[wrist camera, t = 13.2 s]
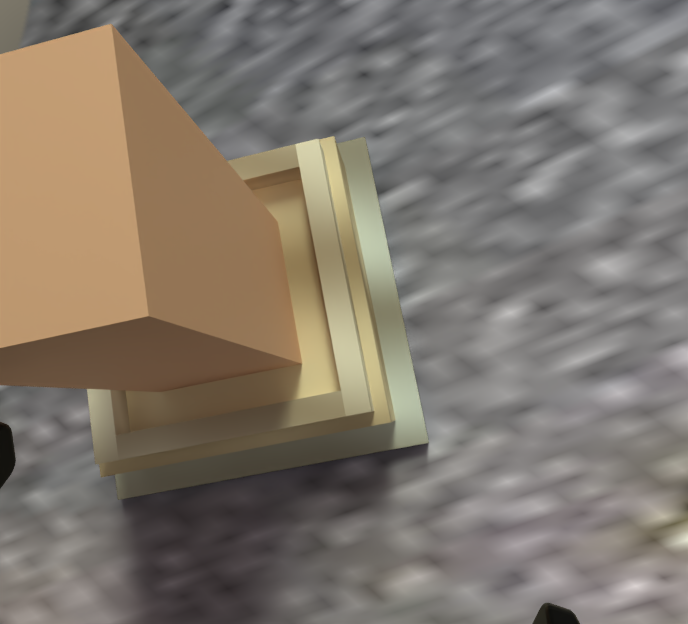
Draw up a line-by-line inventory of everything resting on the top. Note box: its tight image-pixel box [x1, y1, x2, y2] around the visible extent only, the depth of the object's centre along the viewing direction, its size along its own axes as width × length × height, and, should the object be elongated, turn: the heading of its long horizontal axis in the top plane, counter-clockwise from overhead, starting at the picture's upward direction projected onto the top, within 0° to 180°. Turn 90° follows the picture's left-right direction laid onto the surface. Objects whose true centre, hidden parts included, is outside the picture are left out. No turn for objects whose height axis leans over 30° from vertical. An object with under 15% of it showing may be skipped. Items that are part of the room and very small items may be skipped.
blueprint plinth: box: [87, 136, 429, 500], centre depth 22 cm, size 12×12×4 cm
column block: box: [0, 24, 302, 392], centre depth 15 cm, size 5×5×11 cm
